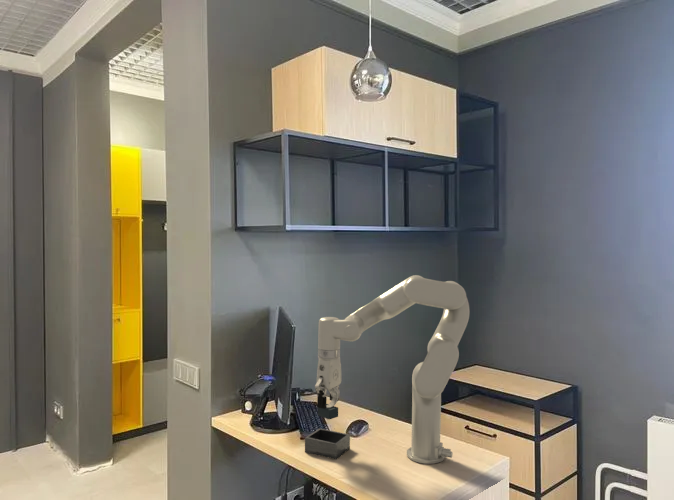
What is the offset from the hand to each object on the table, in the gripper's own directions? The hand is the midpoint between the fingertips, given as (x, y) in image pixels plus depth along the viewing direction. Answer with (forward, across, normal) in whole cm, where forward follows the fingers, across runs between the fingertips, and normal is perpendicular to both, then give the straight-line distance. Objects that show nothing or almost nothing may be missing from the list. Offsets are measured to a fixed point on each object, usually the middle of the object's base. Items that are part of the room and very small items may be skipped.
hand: (328, 404), depth 176 cm
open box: (+16, 0, 0) cm, 16 cm away
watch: (+4, 0, 0) cm, 4 cm away
